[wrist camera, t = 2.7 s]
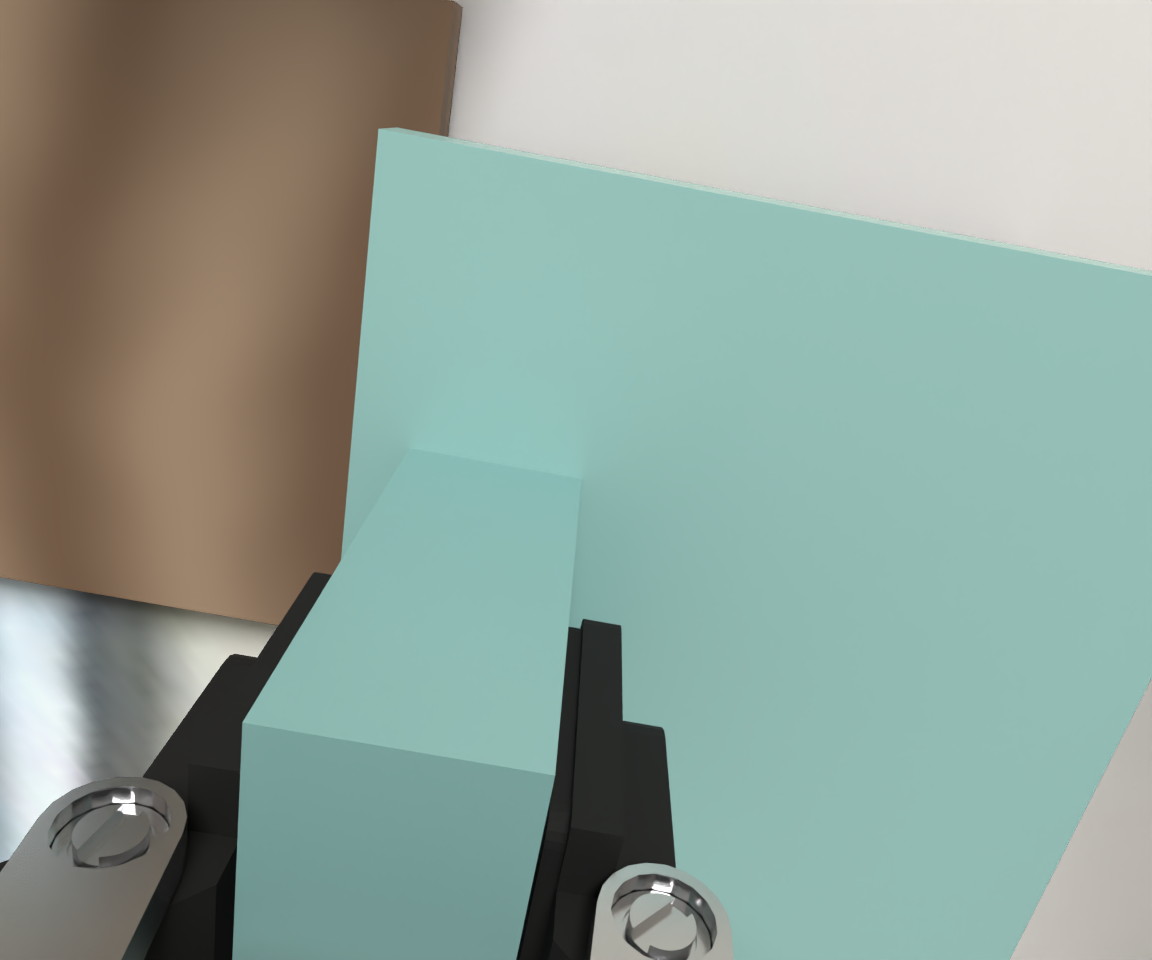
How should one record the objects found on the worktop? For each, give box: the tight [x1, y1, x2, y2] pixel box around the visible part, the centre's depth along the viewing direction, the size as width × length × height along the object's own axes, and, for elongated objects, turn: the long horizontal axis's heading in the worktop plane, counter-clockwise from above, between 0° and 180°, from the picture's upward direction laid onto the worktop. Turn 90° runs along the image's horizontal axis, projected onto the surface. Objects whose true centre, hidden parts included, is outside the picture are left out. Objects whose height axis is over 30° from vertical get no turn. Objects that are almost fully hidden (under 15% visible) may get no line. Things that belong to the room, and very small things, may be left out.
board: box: [0, 0, 463, 625], centre depth 19 cm, size 14×14×1 cm
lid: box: [232, 127, 1152, 960], centre depth 12 cm, size 12×14×8 cm
